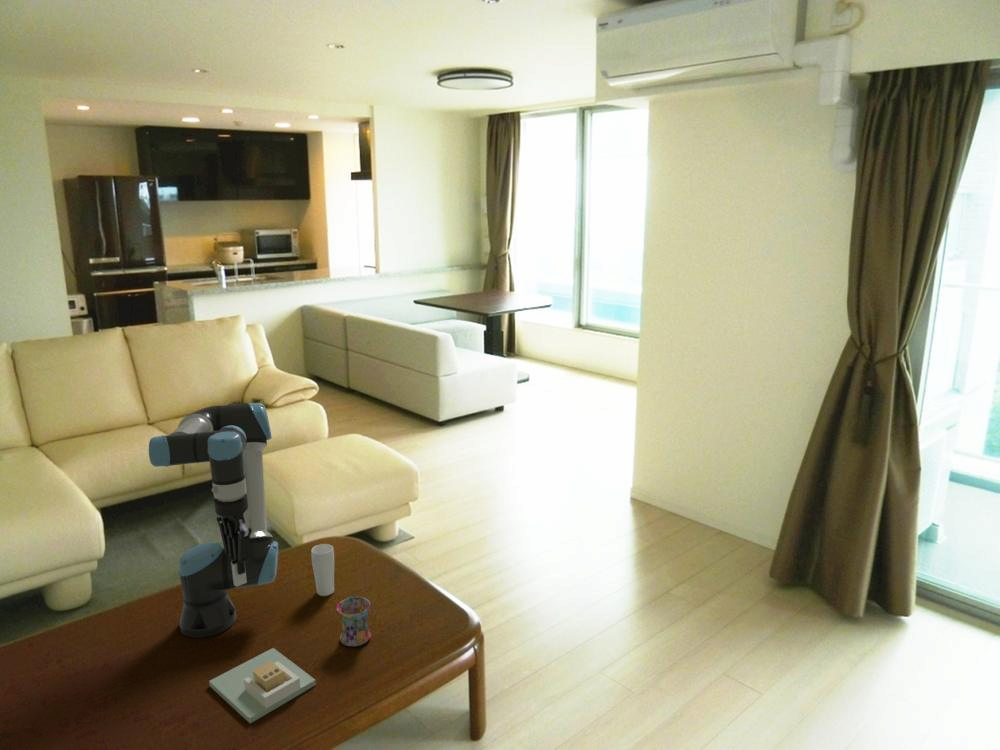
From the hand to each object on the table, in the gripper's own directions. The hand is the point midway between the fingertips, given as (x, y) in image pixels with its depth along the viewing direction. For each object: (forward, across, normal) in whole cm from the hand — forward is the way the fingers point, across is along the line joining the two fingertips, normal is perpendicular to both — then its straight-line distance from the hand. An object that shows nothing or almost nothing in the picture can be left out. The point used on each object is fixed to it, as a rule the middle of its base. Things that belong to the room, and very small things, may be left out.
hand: (240, 583), depth 175 cm
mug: (+27, +7, +28) cm, 39 cm away
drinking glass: (+27, -19, +36) cm, 49 cm away
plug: (+25, +10, 0) cm, 27 cm away
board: (+26, +6, 0) cm, 27 cm away
